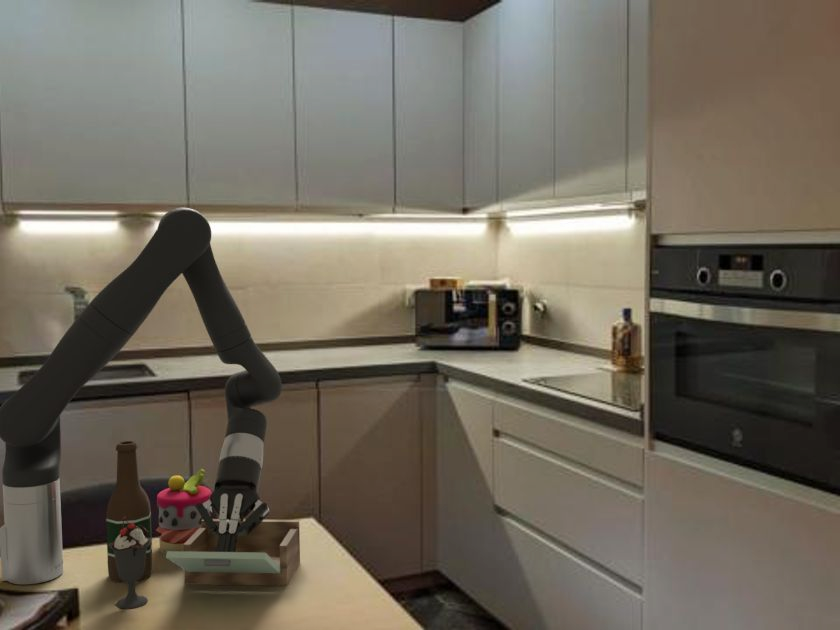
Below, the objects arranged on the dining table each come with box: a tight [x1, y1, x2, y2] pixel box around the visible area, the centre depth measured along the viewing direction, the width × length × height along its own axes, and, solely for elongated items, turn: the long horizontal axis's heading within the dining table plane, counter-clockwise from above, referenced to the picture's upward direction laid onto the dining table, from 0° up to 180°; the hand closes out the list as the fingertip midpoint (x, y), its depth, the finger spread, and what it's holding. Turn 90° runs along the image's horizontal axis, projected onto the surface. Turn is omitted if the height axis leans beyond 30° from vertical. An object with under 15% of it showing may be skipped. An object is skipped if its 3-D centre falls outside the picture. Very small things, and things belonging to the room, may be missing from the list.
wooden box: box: [183, 518, 301, 587], centre depth 156 cm, size 18×11×8 cm, turn 87°
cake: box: [155, 468, 213, 555], centre depth 170 cm, size 10×11×15 cm
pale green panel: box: [165, 551, 281, 573], centre depth 145 cm, size 16×2×12 cm
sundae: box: [109, 517, 151, 610], centre depth 143 cm, size 7×7×15 cm
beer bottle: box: [105, 440, 153, 584], centre depth 155 cm, size 8×8×24 cm
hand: (224, 557), depth 145 cm, fingers closed
